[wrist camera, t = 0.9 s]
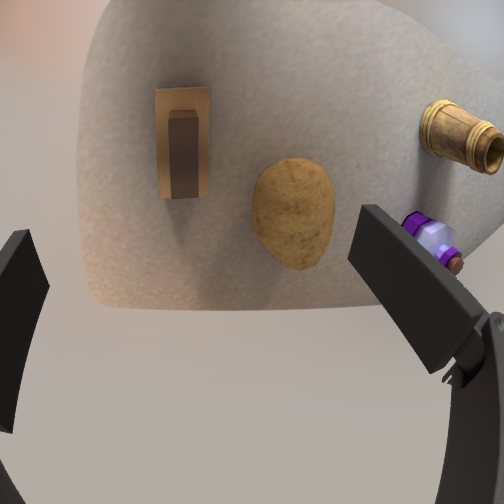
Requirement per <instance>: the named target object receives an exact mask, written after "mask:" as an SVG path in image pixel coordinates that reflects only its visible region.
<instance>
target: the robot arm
mask: <svg viewBox="0 0 504 504" xmlns="http://www.w3.org/2000/svg"><path fill="white" fill-rule="evenodd" d="M348 260H349V261H350V263H351V264H352V265H353V267H354V268H355V269H356V270H357V272H358V273H359V274H360V276H361V277H362V278H363V280H364V281H365V282H366V284H367V285H368V286H369V288H370V289H371V290H372V292H373V293H374V294H375V296H376V297H377V298H378V300H379V301H380V302H381V304H382V305H383V307H384V308H385V309H386V311H387V312H388V313H389V315H390V316H391V318H392V319H393V320H394V322H395V323H396V325H397V326H398V328H399V329H400V330H401V332H402V333H403V335H404V336H405V338H406V339H407V341H408V342H409V343H410V345H411V346H412V348H413V349H414V351H415V352H416V354H417V355H418V357H419V358H420V360H421V361H422V363H423V364H424V366H425V367H426V369H427V371H428V372H429V374H432V373H434V372H436V371H438V370H440V369H442V368H444V367H445V366H446V364H447V363H448V362H449V361H450V359H451V358H452V357H454V358H455V360H456V362H455V363H454V365H453V366H452V367H451V368H450V370H449V371H448V372H447V373H446V374H445V375H444V377H443V378H442V382H443V383H444V382H445V381H446V380H447V379H448V378H449V376H450V375H452V378H451V379H450V380H449V381H448V383H447V384H450V385H452V391H451V407H450V419H449V429H448V438H447V445H446V452H445V458H444V465H443V470H442V475H441V480H440V484H439V489H438V493H437V497H436V501H435V504H504V314H502V313H500V312H493V313H491V315H490V314H489V313H488V312H487V311H486V310H485V309H484V308H483V306H482V305H481V304H480V303H479V302H478V301H477V300H476V299H475V297H474V296H473V295H472V294H471V293H470V292H469V291H468V290H467V289H466V288H464V287H463V284H462V283H461V282H460V281H459V280H457V278H456V277H455V276H454V275H453V274H452V273H451V272H450V271H449V270H448V269H447V268H445V267H444V266H443V265H442V264H441V263H440V262H439V261H438V260H437V259H436V258H435V257H434V256H433V255H431V254H430V253H429V252H428V251H427V250H426V249H425V248H424V247H423V246H422V245H421V244H420V243H419V242H418V241H417V240H416V239H415V238H414V237H413V236H411V235H410V234H409V233H408V232H407V231H406V230H405V229H404V228H403V227H402V226H401V225H399V224H398V223H397V222H396V221H395V220H394V219H393V218H391V217H390V216H389V215H388V214H387V213H386V212H385V211H383V210H382V209H381V208H380V207H379V206H378V205H376V204H367V205H362V207H361V211H360V215H359V219H358V222H357V226H356V230H355V234H354V237H353V241H352V245H351V248H350V252H349V255H348ZM49 287H50V285H49V283H48V281H47V278H46V276H45V273H44V271H43V268H42V265H41V263H40V260H39V257H38V255H37V252H36V249H35V246H34V243H33V240H32V237H31V234H30V231H29V229H26V230H19V231H14V232H13V233H12V235H11V236H10V238H9V239H8V241H7V242H6V243H5V245H4V246H3V248H2V249H1V251H0V431H1V432H6V433H10V434H12V433H13V425H14V417H15V411H16V405H17V400H18V394H19V389H20V384H21V380H22V375H23V371H24V367H25V362H26V359H27V355H28V351H29V348H30V344H31V341H32V337H33V334H34V330H35V327H36V324H37V321H38V318H39V315H40V312H41V309H42V306H43V303H44V300H45V298H46V295H47V292H48V290H49ZM0 504H26V503H25V502H24V500H23V499H22V497H21V495H20V494H19V492H18V490H17V489H16V487H15V485H14V484H13V483H12V481H11V479H10V477H9V475H8V473H7V471H6V470H5V468H4V466H3V464H2V462H1V460H0Z"/></svg>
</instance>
